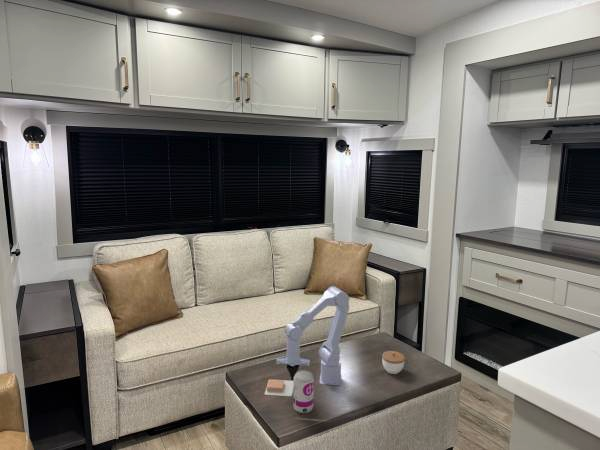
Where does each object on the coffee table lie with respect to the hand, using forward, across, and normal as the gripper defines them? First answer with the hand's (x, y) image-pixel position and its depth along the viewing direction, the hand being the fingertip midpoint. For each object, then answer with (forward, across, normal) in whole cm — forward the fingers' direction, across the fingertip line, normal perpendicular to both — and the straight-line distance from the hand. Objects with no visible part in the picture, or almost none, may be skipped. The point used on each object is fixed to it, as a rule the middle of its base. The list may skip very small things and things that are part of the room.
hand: (293, 379), depth 181 cm
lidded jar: (+5, +47, +21) cm, 51 cm away
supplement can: (+5, +6, -13) cm, 15 cm away
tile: (+3, -4, 0) cm, 5 cm away
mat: (+5, -6, 0) cm, 8 cm away
